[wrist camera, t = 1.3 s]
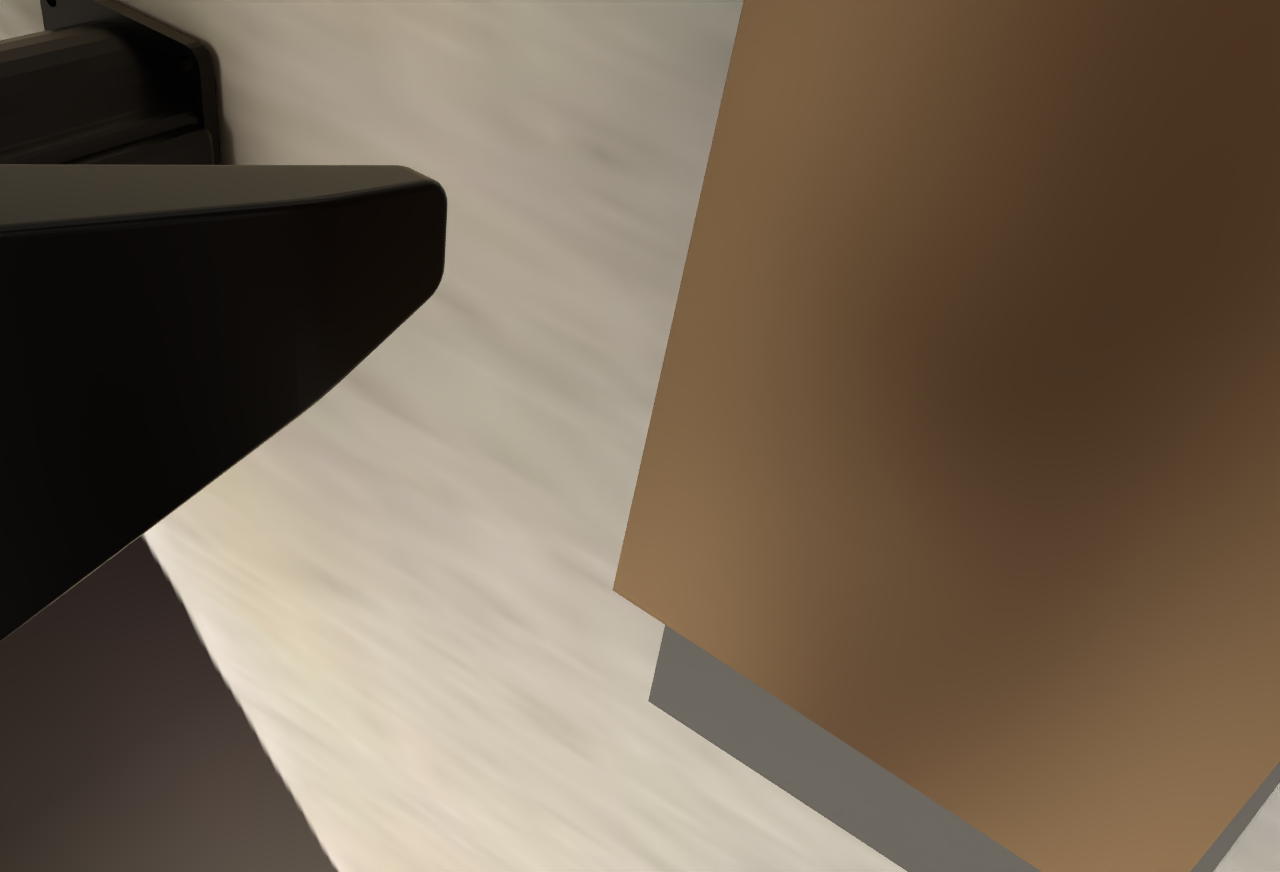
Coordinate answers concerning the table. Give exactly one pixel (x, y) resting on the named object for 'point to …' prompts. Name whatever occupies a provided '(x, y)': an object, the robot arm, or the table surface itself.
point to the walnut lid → (990, 407)
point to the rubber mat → (845, 770)
